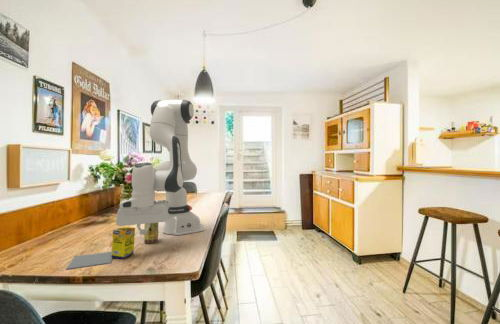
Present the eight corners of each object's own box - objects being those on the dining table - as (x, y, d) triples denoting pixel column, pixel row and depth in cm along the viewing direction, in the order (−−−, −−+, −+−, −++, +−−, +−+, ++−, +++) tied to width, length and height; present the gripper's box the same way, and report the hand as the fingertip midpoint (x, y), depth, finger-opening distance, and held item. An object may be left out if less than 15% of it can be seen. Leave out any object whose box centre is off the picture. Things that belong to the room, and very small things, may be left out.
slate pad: (114, 252, 102) (114, 251, 102) (110, 263, 91) (110, 262, 91) (75, 257, 96) (75, 256, 96) (65, 269, 85) (65, 268, 85)
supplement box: (123, 259, 94) (125, 231, 94) (110, 257, 95) (112, 229, 96) (134, 253, 100) (135, 227, 100) (121, 252, 101) (123, 226, 101)
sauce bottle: (149, 245, 110) (149, 202, 110) (141, 242, 114) (141, 200, 114) (161, 240, 116) (161, 200, 116) (153, 238, 119) (153, 199, 119)
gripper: (168, 198, 108) (168, 229, 108) (117, 201, 100) (117, 234, 100) (169, 200, 102) (169, 233, 102) (115, 204, 94) (115, 239, 94)
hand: (143, 234), depth 101 cm, fingers closed
